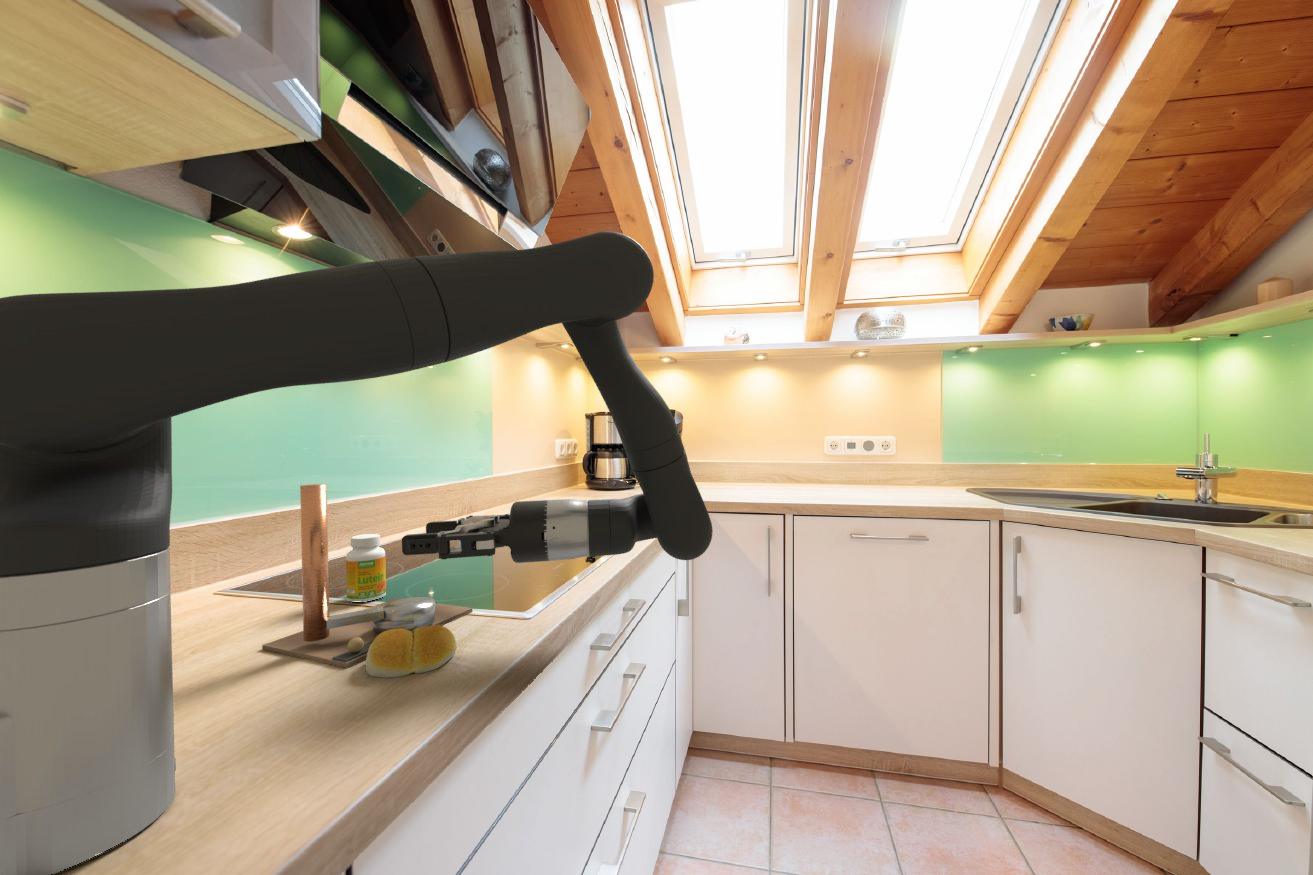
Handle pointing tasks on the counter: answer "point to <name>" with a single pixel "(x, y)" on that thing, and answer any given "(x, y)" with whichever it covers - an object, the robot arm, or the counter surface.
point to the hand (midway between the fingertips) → (415, 537)
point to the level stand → (350, 639)
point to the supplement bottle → (365, 569)
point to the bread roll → (410, 651)
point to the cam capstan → (317, 581)
